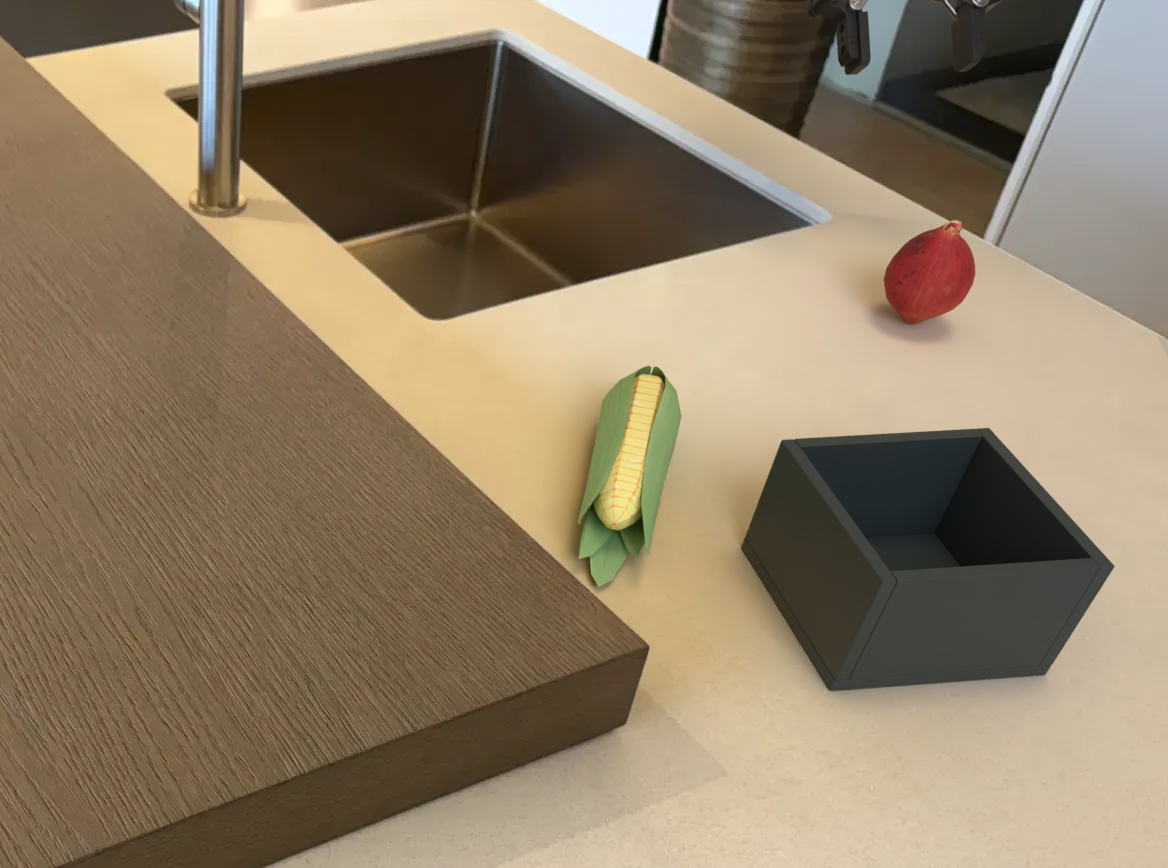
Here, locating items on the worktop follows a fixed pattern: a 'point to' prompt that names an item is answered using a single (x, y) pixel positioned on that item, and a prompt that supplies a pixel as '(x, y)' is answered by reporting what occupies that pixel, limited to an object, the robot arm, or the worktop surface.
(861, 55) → the robot arm
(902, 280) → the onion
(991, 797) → the worktop surface
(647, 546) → the edible corn
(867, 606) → the trash bin
